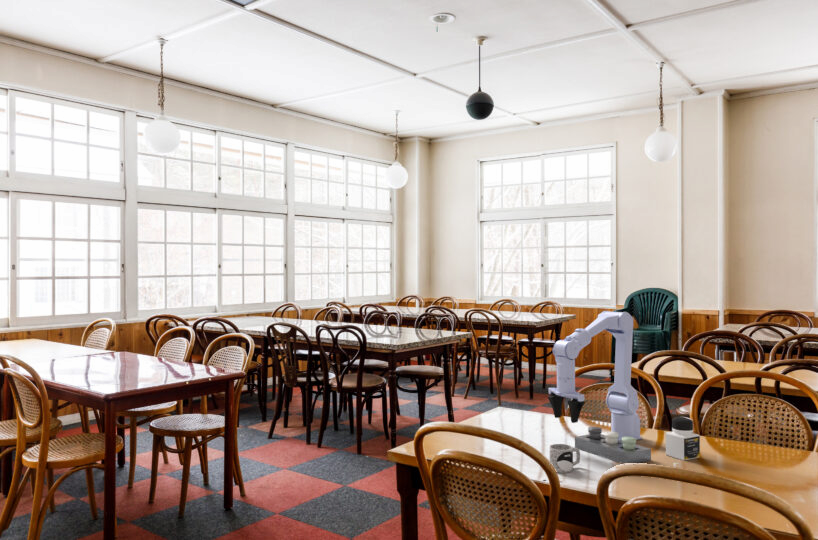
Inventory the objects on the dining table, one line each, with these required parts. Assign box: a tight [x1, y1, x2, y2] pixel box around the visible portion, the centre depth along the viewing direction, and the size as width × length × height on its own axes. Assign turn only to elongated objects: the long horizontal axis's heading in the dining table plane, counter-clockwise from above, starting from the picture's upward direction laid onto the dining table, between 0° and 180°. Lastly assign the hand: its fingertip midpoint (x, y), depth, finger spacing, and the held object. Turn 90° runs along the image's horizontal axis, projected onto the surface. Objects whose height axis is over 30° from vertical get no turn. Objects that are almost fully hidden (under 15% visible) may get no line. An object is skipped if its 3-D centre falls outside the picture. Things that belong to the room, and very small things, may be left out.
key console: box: [574, 433, 652, 464], centre depth 200 cm, size 10×22×4 cm, turn 29°
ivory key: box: [604, 431, 619, 445], centre depth 200 cm, size 4×4×4 cm
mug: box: [549, 443, 581, 474], centre depth 185 cm, size 10×7×7 cm, turn 114°
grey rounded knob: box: [587, 426, 603, 440], centre depth 206 cm, size 4×4×4 cm
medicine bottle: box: [665, 416, 701, 462], centre depth 197 cm, size 7×7×12 cm
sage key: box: [622, 437, 637, 451], centre depth 194 cm, size 4×4×4 cm
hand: (566, 419), depth 203 cm, fingers open, 7 cm apart
